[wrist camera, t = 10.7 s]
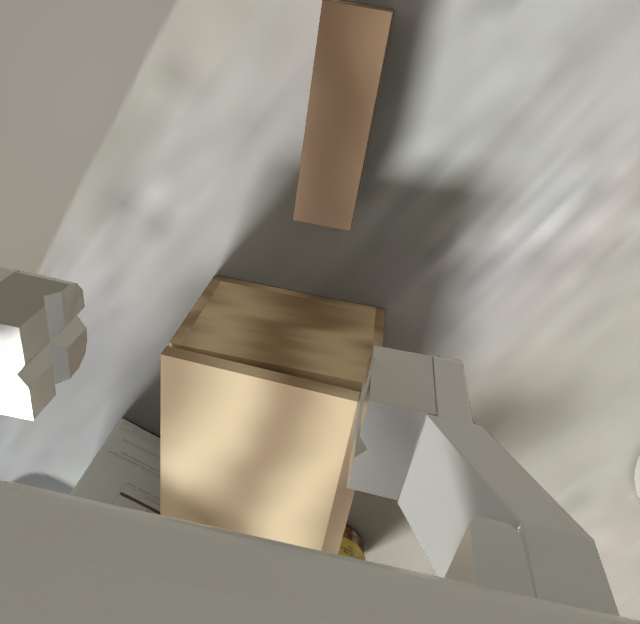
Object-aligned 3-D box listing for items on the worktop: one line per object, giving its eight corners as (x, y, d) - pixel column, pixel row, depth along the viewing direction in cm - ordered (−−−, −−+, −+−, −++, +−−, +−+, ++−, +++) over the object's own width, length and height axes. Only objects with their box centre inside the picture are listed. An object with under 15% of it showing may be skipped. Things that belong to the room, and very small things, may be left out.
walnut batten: (394, 9, 27) (392, 12, 23) (356, 202, 32) (349, 231, 28) (334, -2, 27) (322, -1, 23) (306, 192, 32) (292, 219, 28)
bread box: (385, 309, 35) (380, 385, 28) (341, 486, 44) (329, 578, 37) (214, 275, 36) (169, 342, 29) (204, 456, 44) (167, 542, 37)
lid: (379, 396, 28) (377, 407, 27) (327, 590, 36) (324, 602, 35) (167, 345, 29) (159, 355, 28) (165, 546, 37) (159, 557, 36)
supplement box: (121, 413, 43) (-22, 626, 29) (224, 468, 45) (137, 697, 30) (82, 480, 48) (-58, 692, 33) (176, 528, 49) (82, 750, 35)
